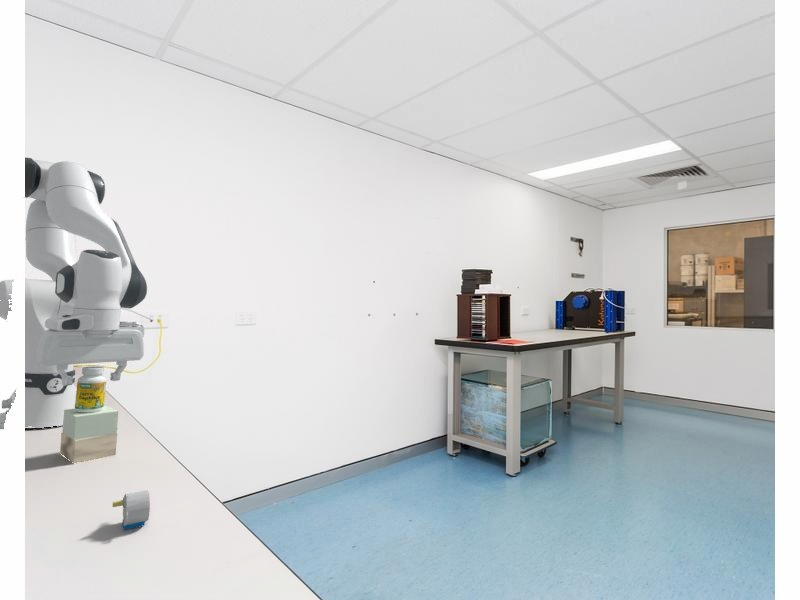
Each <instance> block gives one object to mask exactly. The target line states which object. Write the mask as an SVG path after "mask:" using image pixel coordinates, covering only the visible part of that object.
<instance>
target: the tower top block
mask: <svg viewBox="0 0 800 600" xmlns="http://www.w3.org/2000/svg"><path fill="white" fill-rule="evenodd" d="M118 420H119V411H118V410H117V409H115V408H112V407H110V406H109V405H106V404H104V408H103V409H102V410H101V411H97V412H89V413H84V412H77V411H75V409H67V410H64V419H63V425H62V433H64V434H66V435H67V436H69V437H70V438H71V439H73V440H80V439H86V438H92V437H98V436H104V435H110V434H116V433H117V434H118Z"/></svg>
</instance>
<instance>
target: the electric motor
mask: <svg viewBox="0 0 800 600" xmlns="http://www.w3.org/2000/svg"><path fill="white" fill-rule="evenodd" d="M150 497H151V496H150V492H149V490H142V491H137V492H129V493H125V494H124V497H122V500H115V501H112V508H117V507H122V527H123V531H126V530H130V529H134V528H140V527H143V526H142V525H144V526H145V525H146V524H145V523H146V522H147V521H149V518H150V513H151V511H150V510H151V499H150ZM139 526H140V527H139Z"/></svg>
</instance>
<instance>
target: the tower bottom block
mask: <svg viewBox="0 0 800 600" xmlns="http://www.w3.org/2000/svg"><path fill="white" fill-rule="evenodd" d="M60 436H61V437H60V447H59V448H60V449H59V454H60V453H61V454H62V455H64V456H65V457H66V458H67V459H69V460H70V461H71V462H73V463H76V464H78V463H77V462H81V463H85V462H89V460H90V461H95V460H98V459H103V458H107V457H112V456H116V455H117V454H116V453H117V441H118V440H117V439H118V432H117V433H116V434H110V435H104V436H98V437H92V438H86V439H80V440H73V439H71V438H70V437H69V436H67V435H66V434H64V433H63V432H61V435H60ZM67 459H66V460H67ZM94 459H95V460H94ZM70 461H69V462H70ZM84 461H85V462H84ZM71 462H70V463H71ZM73 463H72V464H73Z"/></svg>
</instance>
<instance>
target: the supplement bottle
mask: <svg viewBox="0 0 800 600" xmlns="http://www.w3.org/2000/svg"><path fill="white" fill-rule="evenodd" d="M104 371H105V367H103V366H97V365H96V366H83V367H82V370H81V374H82V375H81V376H79V378H78V379H77V382H76V387H77V391H76V400H75V411H77V412H84V413H89V412H97V411H101V410H102V409H103V408H104V405H105V400H106V399H105V398H106V388H107V378H106V376H104V375H103V374H104Z"/></svg>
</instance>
